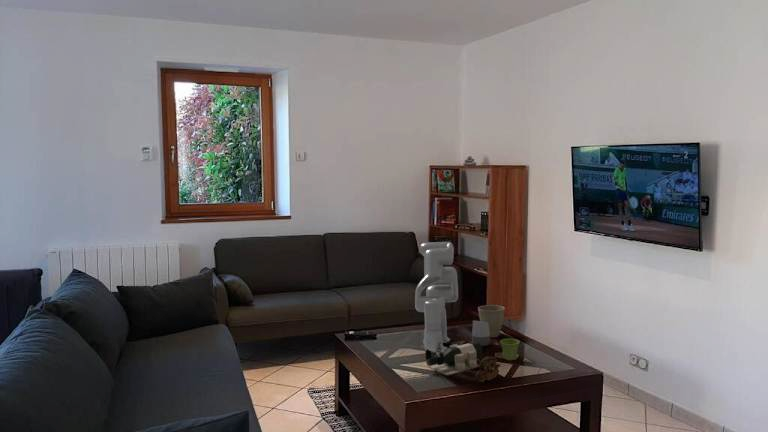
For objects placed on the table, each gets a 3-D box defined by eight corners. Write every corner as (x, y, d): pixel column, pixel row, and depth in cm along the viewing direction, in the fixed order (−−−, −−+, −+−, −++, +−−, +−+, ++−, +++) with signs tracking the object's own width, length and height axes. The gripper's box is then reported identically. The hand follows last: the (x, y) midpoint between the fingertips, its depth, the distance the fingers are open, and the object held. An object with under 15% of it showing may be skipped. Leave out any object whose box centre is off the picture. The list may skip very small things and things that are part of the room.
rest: (426, 366, 282) (426, 351, 282) (459, 358, 292) (459, 343, 292) (446, 375, 269) (445, 359, 268) (480, 366, 278) (479, 351, 278)
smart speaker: (493, 344, 312) (492, 318, 311) (484, 348, 305) (483, 322, 304) (478, 341, 318) (477, 316, 317) (469, 345, 312) (468, 320, 311)
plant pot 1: (508, 338, 321) (507, 310, 320) (481, 340, 321) (480, 311, 320) (502, 331, 336) (501, 304, 334) (477, 332, 336) (476, 305, 335)
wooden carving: (484, 386, 253) (483, 364, 252) (475, 384, 256) (474, 362, 255) (502, 375, 265) (502, 354, 265) (493, 373, 268) (493, 352, 268)
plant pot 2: (521, 356, 290) (521, 339, 289) (517, 362, 282) (517, 344, 281) (503, 354, 294) (502, 338, 293) (498, 360, 285) (498, 343, 285)
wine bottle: (474, 338, 290) (424, 350, 274) (484, 348, 283) (434, 360, 268) (470, 351, 293) (421, 364, 278) (480, 361, 286) (431, 375, 271)
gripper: (416, 323, 279) (418, 358, 281) (437, 332, 264) (438, 368, 266) (429, 321, 283) (430, 355, 284) (450, 329, 268) (451, 365, 270)
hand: (434, 361), depth 275 cm, fingers open, 9 cm apart
